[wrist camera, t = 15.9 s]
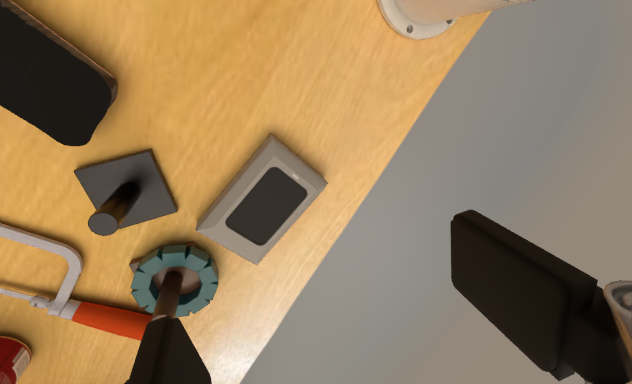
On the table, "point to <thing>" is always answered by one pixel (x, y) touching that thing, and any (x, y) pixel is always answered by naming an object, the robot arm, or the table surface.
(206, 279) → the ring
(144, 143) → the table surface
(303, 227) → the table surface
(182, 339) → the robot arm
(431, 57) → the table surface
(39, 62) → the black sponge
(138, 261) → the brown peg stand
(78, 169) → the black post
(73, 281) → the hand saw
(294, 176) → the grey flat block
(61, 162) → the table surface
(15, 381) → the soda can
